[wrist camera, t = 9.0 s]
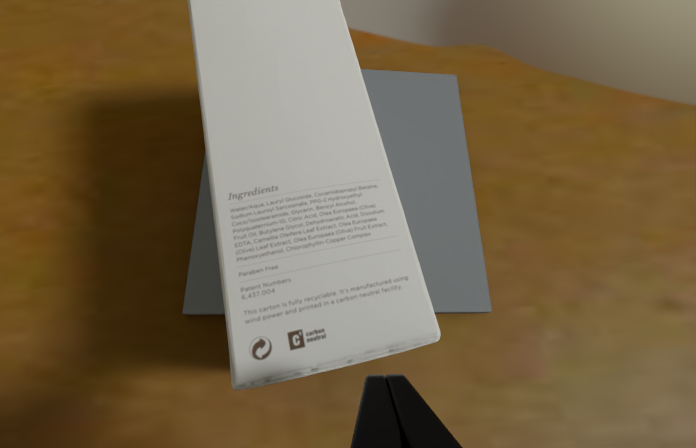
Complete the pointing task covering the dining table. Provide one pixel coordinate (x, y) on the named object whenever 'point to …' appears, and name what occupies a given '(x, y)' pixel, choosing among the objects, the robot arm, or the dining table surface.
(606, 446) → the dining table surface
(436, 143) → the mat
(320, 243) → the skincare box
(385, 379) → the robot arm
